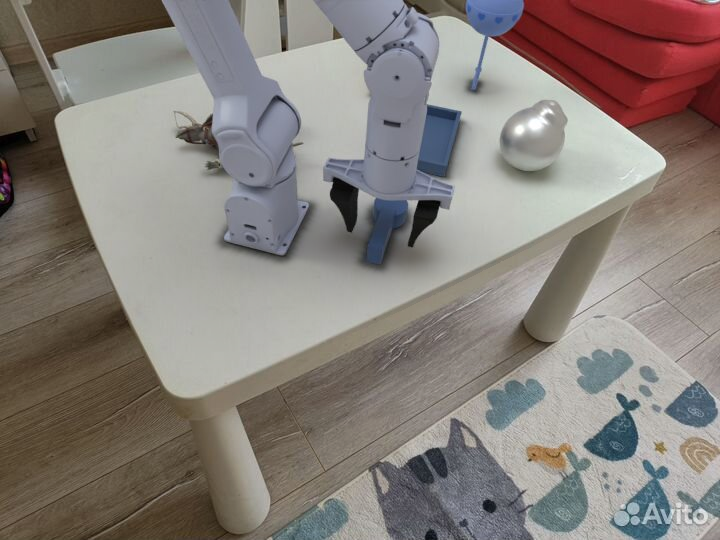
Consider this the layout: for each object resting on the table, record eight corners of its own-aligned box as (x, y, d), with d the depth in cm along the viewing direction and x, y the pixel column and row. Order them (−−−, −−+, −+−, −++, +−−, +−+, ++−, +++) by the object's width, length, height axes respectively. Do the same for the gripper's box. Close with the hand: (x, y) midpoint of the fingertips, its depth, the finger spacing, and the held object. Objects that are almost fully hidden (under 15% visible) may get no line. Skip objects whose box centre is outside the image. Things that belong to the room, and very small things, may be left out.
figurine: (146, 137, 68) (186, 71, 78) (159, 174, 72) (196, 107, 83) (297, 145, 66) (317, 77, 77) (301, 182, 71) (319, 113, 82)
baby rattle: (494, 106, 86) (528, -6, 72) (444, 95, 88) (467, -18, 74) (501, 81, 92) (534, -29, 78) (454, 70, 93) (477, -39, 79)
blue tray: (444, 177, 74) (446, 166, 73) (375, 161, 75) (376, 150, 74) (459, 122, 83) (461, 111, 81) (397, 109, 84) (398, 98, 83)
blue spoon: (390, 267, 63) (393, 251, 60) (355, 259, 63) (357, 242, 61) (409, 209, 69) (412, 192, 67) (377, 202, 70) (379, 185, 68)
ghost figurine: (565, 182, 75) (593, 123, 67) (503, 185, 74) (524, 125, 66) (542, 143, 81) (566, 85, 73) (484, 146, 79) (502, 86, 72)
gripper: (467, 136, 55) (444, 225, 65) (337, 108, 57) (335, 199, 67) (457, 177, 51) (434, 266, 61) (316, 146, 53) (317, 237, 63)
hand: (381, 234), depth 64 cm, fingers open, 7 cm apart
